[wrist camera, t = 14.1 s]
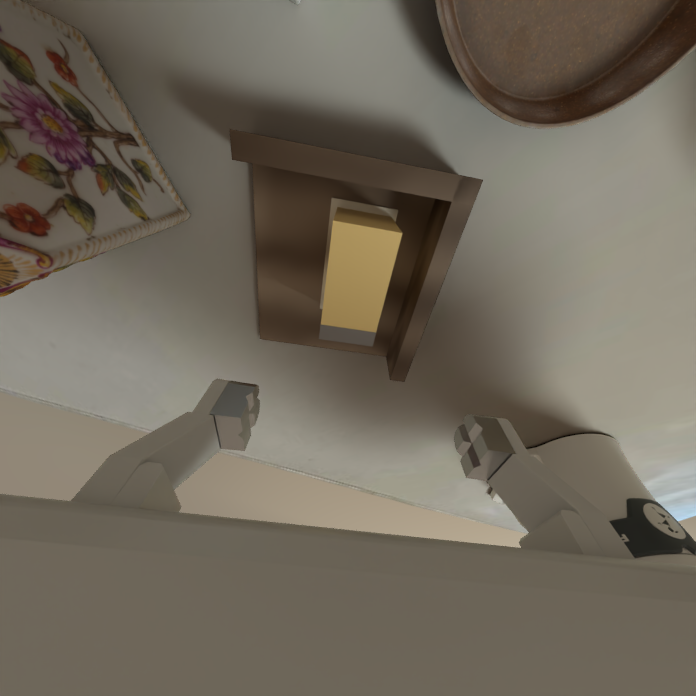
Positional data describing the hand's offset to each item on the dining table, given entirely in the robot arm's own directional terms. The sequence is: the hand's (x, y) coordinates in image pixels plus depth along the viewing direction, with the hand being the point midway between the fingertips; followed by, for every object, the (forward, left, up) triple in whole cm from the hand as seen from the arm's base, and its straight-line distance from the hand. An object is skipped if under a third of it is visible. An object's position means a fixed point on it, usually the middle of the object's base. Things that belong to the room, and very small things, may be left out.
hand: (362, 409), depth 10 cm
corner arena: (-1, +1, -18) cm, 18 cm away
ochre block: (0, 0, -17) cm, 17 cm away
